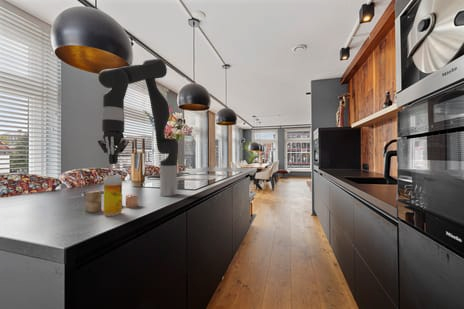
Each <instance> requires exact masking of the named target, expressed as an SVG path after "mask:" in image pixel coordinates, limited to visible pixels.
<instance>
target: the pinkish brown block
mask: <svg viewBox="0 0 464 309" xmlns="http://www.w3.org/2000/svg"><path fill="white" fill-rule="evenodd" d="M138 207H139V194H135V193H132V194H127V195H125V208H126V209H132V208H138Z"/></svg>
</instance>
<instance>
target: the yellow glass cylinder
mask: <svg viewBox="0 0 464 309" xmlns="http://www.w3.org/2000/svg"><path fill="white" fill-rule="evenodd" d="M122 207H123V178H122V176H121V175H119V174H118V175H116V174H115V175H114V174H113V175H105V177H104V178H103V214H104V216H106V217H114V216H118V215H121V213H122V211H123V210H122V209H123V208H122Z"/></svg>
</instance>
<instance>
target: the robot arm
mask: <svg viewBox="0 0 464 309" xmlns="http://www.w3.org/2000/svg"><path fill="white" fill-rule="evenodd" d="M167 73H168V68H167V65H166V62H165V61H163V60H162V59H160V58H153V59H146V60H144V61H143V62H142V64H133V65H127V66H126V65H125V66H123V67H122V66H121V67H118V68H117V67H116V68H109V69H108V68H107V69H103V70H101V71H100V72H99V74H98V81H99V84H101V86H103V88H107V89H110V90H109V91H108V92H105V93H104V94H103V95H102V96H103V97H102V98H103V99H102V101H103V102H102V105H103V106H102V114H101V120H102V121H101V123H102V124H101V130H102V132H103V134H102V135H103V136H102V139H101V140H98V141H97V143H98V145H99V147H100V148H101V150H102V151H103V153H105V154H107V155H108V162H109V165H117V164H118V162H119V161H118V160H119V158H118V157H119V155H120V154H123V152H124V150H125V149H126V148H127V146H128V145H129V144H130V140H128V139H126V138H125V136H124V132H125V110H124V109H125V108H124V107H125V106H124V105H125V102H124V100H125V97H126V94H127V91H128V87H129V85H132V84H135V83H138V82H142V81H145V85H146V88H147V91H148V96H149V97H148V98H149V102H150V109H151V113H152V117H153V123H154V128H155V140H156V149H157V151H158V153H160V154H162V155H167V157H166V158H164V159H162V160H161V161H160V164H159V167H160V170H159V171H160V173H159V174H160V176H159V179H160V180H159V182H160V183H159V184H160V185H159V187H160V188H159V195H160V196H162V197H172V196H176V195H177V194H178V177H177V176H178V170H177V168H178V158H179V157H178V156H179V142H178V140H177V139H176V138H174V137H171V138H170V137H169V138H168V137H166V133H165V130H166V126H167V124H168V121H169V119H170V116H171V114H170V107H169V102H168V101H167V99H166V97H165V96H164V95H163V94H162V93H161V91H160V89H159V88H158V85H157V82H156V79H161V78H165V77H166V76H167Z"/></svg>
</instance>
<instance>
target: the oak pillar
mask: <svg viewBox="0 0 464 309" xmlns="http://www.w3.org/2000/svg"><path fill="white" fill-rule="evenodd" d="M102 192H103V191H102V190H89V191H86V192H85V199H84V200H85V204H84V205H85V209H84V210H85V211H84V212H85V213H86V212H87V213H94V212H95V213H96V212H100V211H102V194H103V193H102Z"/></svg>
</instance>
